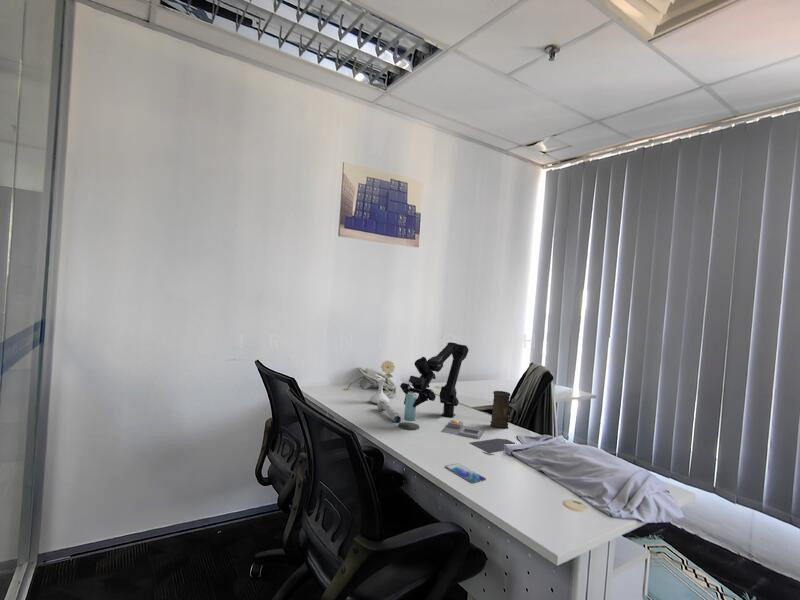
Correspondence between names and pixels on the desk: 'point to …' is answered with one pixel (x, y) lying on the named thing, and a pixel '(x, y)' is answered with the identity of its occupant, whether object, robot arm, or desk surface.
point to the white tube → (388, 410)
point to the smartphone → (465, 473)
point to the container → (500, 410)
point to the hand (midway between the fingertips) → (408, 405)
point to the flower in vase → (387, 368)
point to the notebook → (492, 445)
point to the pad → (408, 426)
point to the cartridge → (410, 406)
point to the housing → (463, 430)
